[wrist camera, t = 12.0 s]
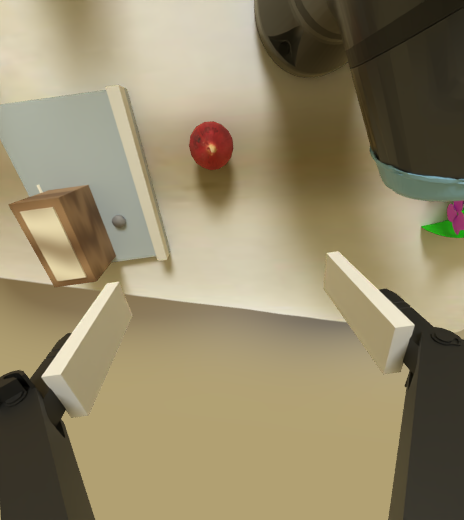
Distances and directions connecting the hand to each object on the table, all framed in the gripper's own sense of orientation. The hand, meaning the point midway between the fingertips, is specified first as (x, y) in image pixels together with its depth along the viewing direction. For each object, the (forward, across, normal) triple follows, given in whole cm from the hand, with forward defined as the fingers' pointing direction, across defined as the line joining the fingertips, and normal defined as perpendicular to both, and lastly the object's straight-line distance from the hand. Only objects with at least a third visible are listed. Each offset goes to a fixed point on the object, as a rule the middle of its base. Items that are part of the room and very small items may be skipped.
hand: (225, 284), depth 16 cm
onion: (+27, 0, -7) cm, 28 cm away
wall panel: (+27, +19, -3) cm, 33 cm away
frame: (+26, +22, +2) cm, 34 cm away
